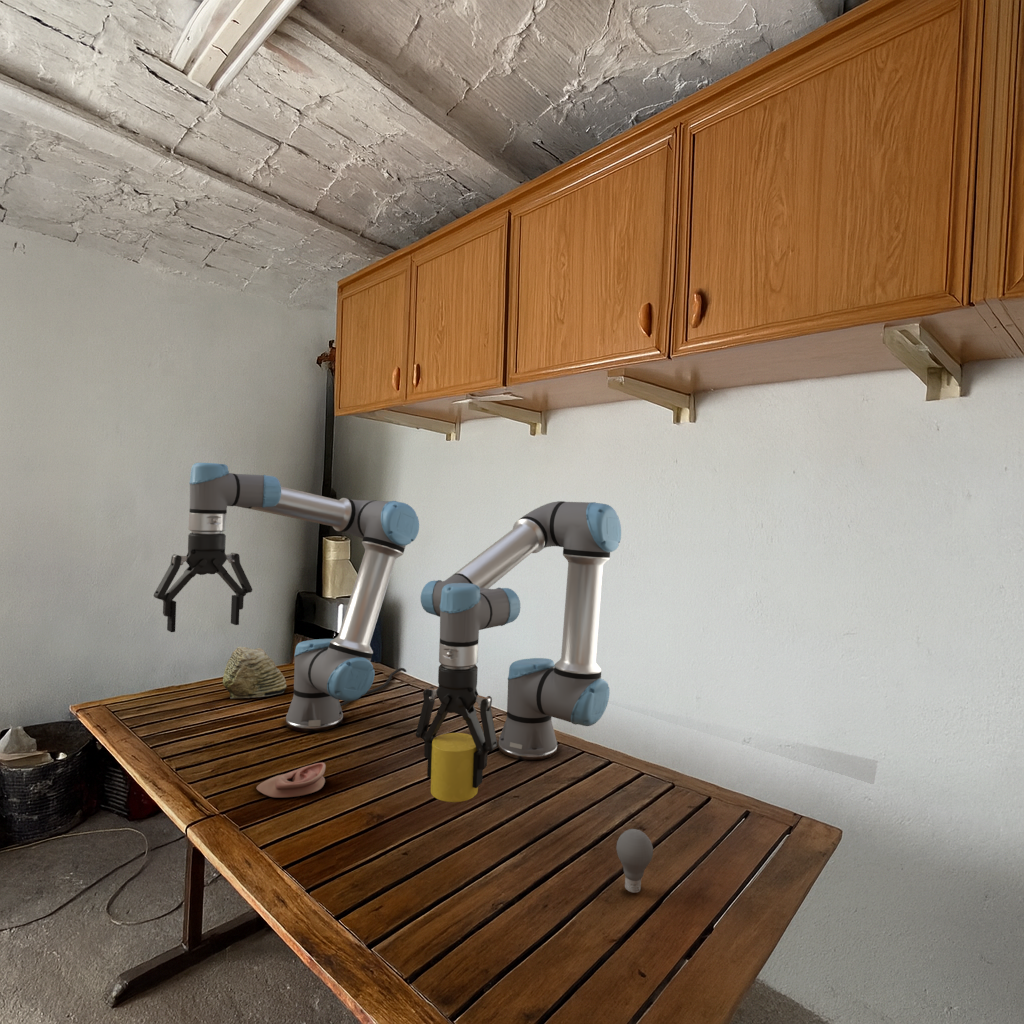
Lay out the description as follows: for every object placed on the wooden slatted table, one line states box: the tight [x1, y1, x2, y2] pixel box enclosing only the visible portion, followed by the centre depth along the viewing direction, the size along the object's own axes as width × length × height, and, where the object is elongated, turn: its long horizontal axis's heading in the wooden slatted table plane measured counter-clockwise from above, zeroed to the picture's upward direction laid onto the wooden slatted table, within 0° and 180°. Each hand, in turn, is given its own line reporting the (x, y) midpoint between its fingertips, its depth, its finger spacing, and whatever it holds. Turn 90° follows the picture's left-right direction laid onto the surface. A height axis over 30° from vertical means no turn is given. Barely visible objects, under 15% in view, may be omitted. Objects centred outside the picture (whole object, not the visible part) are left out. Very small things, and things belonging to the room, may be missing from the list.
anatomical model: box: [256, 762, 327, 799], centre depth 137 cm, size 13×4×12 cm
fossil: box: [222, 646, 288, 699], centre depth 198 cm, size 9×18×15 cm, turn 132°
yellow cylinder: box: [430, 732, 479, 803], centre depth 122 cm, size 9×9×10 cm
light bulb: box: [615, 828, 654, 894], centre depth 106 cm, size 6×6×10 cm
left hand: (204, 627), depth 141 cm, fingers open, 13 cm apart
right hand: (454, 779), depth 123 cm, fingers closed on yellow cylinder, 9 cm apart
